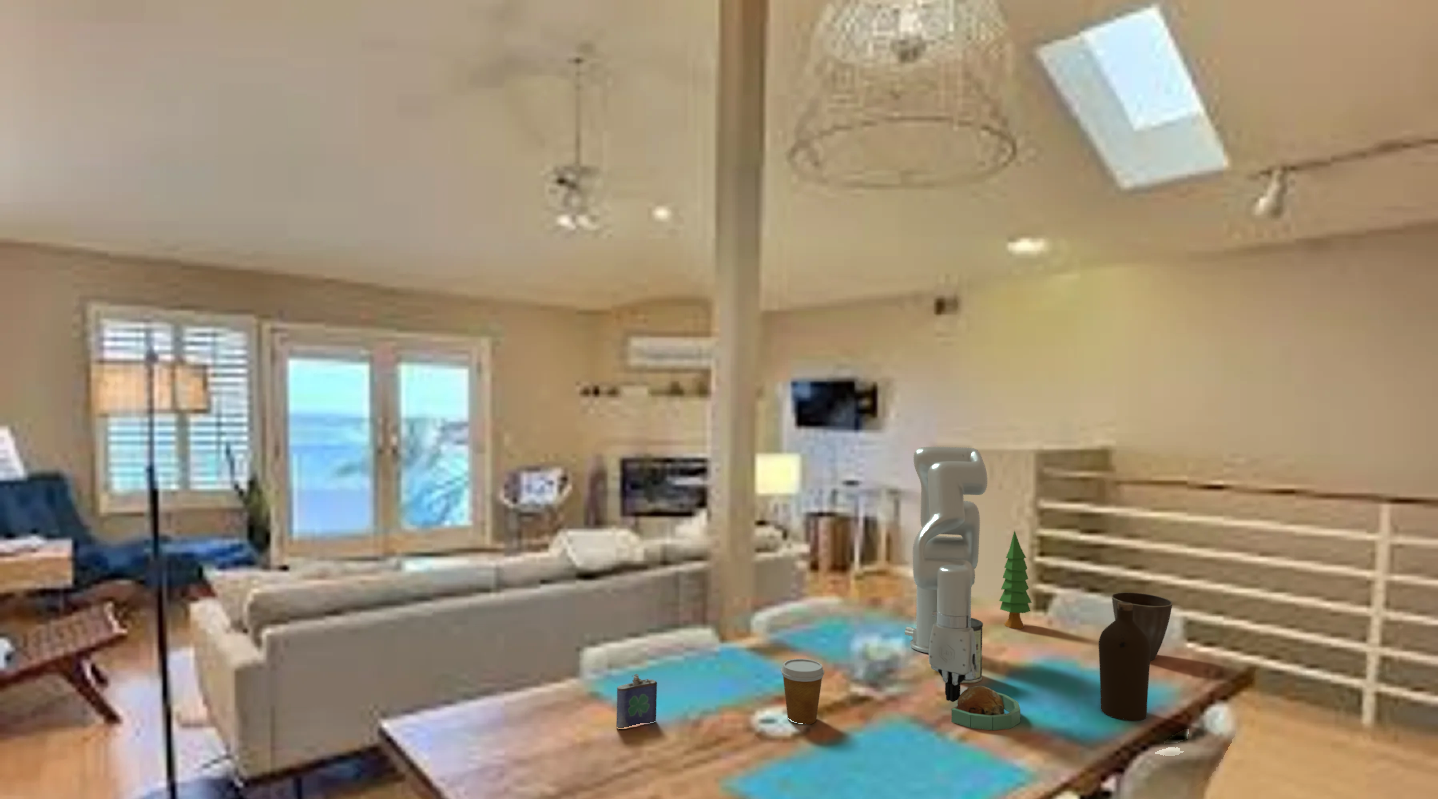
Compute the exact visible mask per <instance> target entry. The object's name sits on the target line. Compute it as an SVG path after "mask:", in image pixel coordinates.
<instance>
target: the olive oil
mask: <svg viewBox="0 0 1438 799" xmlns="http://www.w3.org/2000/svg"><path fill="white" fill-rule="evenodd" d="M1117 606H1118V608H1117V618H1116V620H1115V619H1114V621H1113V622H1111V623H1110V624H1109V625H1108V626H1106V627H1105V628H1104V629H1103V630H1102V631H1101V633H1100V636H1099V638H1098V659H1099V688H1100V689H1099V690H1100V691H1099V694H1100V698H1099V700H1100V710H1101V712H1102V713H1103V714H1104V715H1107V716H1109V717H1111V718H1114V719H1117V720H1123V721H1129V722H1130V721H1131V722H1132V721H1133V722H1135V721H1136V722H1137V721H1143V720H1145V719H1146V718H1147V715H1148V695H1149V692H1148V691H1149V683H1150V682H1149V681H1150V680H1149V679H1150V666H1151V660H1150V656H1151V647H1150V643H1149V640H1148V638H1147V636H1146V635H1145V634H1144V632H1143V631H1142V630H1141V629H1140V628H1139V627H1138V626H1137V625H1136V624H1135V622H1134V621H1133V610H1132V607H1133V604H1132V603H1129V602H1118V603H1117Z"/></svg>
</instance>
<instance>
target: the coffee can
mask: <svg viewBox="0 0 1438 799" xmlns="http://www.w3.org/2000/svg"><path fill="white" fill-rule="evenodd" d="M983 626H984V623H983V621H981V620H979V619H977V618H974V617H971V628H973V631H974V635H975V642H976V653H977V665H976V670H975V674H976V678H974V679H972V680H966V679H965V680H964V681H963V682H961V683H962V684H975V683H979V682H981V681H982V679H983ZM953 674H954V673H953ZM961 683H960V684H961Z"/></svg>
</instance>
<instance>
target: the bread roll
mask: <svg viewBox="0 0 1438 799" xmlns="http://www.w3.org/2000/svg"><path fill="white" fill-rule="evenodd" d="M996 692H997V691H995V690H993V689H991V688H990V687H987V686H983V685H977V686H969V687H967V688H966V689H965V690H963V691H962V692H961V693H960V696H959V698H958V700H957V702H956V703H957V709H959V710H962V711H965V712H969V713H973V714H983V715H999V714H1005V709H1004V705H1003V702H1002V699H1001V697H1000V696H999V695H998V694H997V693H998V692H997V693H996Z"/></svg>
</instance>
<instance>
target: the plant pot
mask: <svg viewBox="0 0 1438 799" xmlns="http://www.w3.org/2000/svg"><path fill="white" fill-rule="evenodd" d="M1111 602H1112V609H1113V615H1114V621H1115V620H1116V618H1117V608H1118V606H1117V603H1118V602H1129V603H1132V604H1133V607H1132V610H1133V621H1134V622H1135V624H1136V625H1137V626H1138V627H1139V628H1140V629H1141V630H1142V631H1143V632H1144V634H1145V635H1146V636H1147V638H1148V640H1149V643H1150V647H1151V656H1150V661H1154V660H1155V659H1156V657H1157V655H1158V653H1159V651H1160V649H1161V646H1162V644H1163V641H1164V638H1165V635H1166V633H1167V629H1168V626H1169V622H1170V618H1171V614H1172V608H1173V602H1172V600H1170V599H1168V598H1165V597H1164V596H1163V597H1162V596H1158V595H1155V594H1147V593H1140V592H1124V591H1123V592H1116V593H1113V594H1111Z"/></svg>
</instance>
